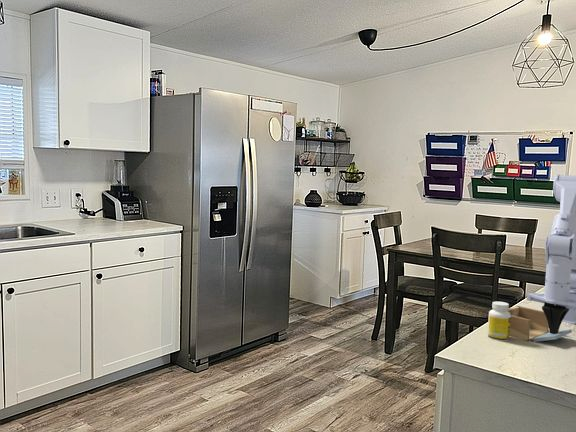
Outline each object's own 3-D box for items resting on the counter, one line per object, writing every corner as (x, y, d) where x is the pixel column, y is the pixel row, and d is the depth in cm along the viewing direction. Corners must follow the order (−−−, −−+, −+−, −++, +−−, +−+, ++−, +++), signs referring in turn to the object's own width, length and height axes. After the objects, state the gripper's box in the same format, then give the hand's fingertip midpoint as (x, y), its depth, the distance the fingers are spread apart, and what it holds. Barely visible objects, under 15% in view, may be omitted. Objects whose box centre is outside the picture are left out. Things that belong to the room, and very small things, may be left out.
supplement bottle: (511, 343, 135) (513, 306, 134) (489, 342, 136) (491, 305, 136) (506, 337, 141) (509, 301, 140) (485, 335, 142) (487, 299, 141)
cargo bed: (516, 326, 151) (517, 305, 150) (552, 335, 143) (553, 313, 142) (494, 334, 143) (495, 312, 142) (530, 344, 135) (532, 321, 135)
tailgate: (549, 332, 142) (571, 329, 138) (550, 335, 142) (572, 333, 138) (532, 338, 136) (554, 336, 132) (533, 342, 136) (556, 340, 132)
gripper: (522, 278, 138) (519, 328, 140) (581, 289, 127) (576, 343, 129) (535, 275, 143) (531, 324, 144) (592, 285, 132) (588, 338, 133)
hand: (553, 333), depth 137 cm, fingers closed
